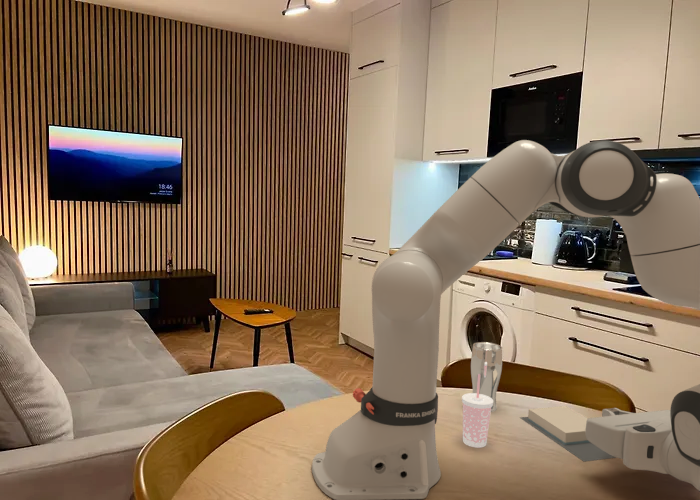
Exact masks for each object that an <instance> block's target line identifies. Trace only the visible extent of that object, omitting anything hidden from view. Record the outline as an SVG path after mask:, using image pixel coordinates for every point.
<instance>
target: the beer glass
mask: <svg viewBox="0 0 700 500" xmlns="http://www.w3.org/2000/svg"><path fill="white" fill-rule="evenodd" d="M471 350H472V351H471V358H470V360H471V361H470V375H471V383H472V393H477V382H478V374H480V389H479V394H483V395H486V396H489V397H490V398H492V399H493V406H492V407H491V413H494V412H496V411H497V410H498V406H497V391H498V387H499V383H500V379H501V377H502V376H501V375H502V370H503V347H502V346H501V345H499V344H497V343H494V342H489V341H488V342H487V341H481V342H480V341H479V342H474V343H473V344H472V349H471Z"/></svg>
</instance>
